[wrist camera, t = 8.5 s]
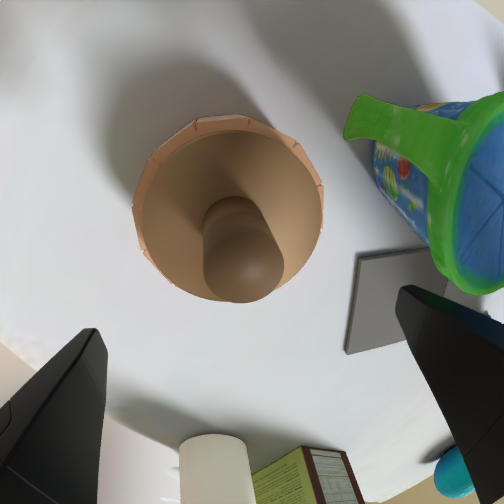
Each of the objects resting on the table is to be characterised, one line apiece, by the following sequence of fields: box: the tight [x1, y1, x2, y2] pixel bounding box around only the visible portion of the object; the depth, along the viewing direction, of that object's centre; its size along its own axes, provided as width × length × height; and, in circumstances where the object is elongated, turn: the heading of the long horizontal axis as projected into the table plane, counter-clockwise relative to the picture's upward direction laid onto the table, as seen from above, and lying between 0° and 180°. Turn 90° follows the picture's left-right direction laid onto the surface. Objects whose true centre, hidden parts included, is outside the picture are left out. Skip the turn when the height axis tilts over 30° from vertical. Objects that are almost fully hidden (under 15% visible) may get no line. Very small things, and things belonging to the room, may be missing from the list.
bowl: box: [132, 114, 324, 287], centre depth 17 cm, size 10×10×4 cm
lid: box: [142, 130, 322, 303], centre depth 13 cm, size 8×8×5 cm
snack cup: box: [343, 92, 504, 295], centre depth 15 cm, size 16×10×10 cm
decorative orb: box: [434, 446, 475, 498], centre depth 49 cm, size 15×15×15 cm
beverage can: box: [179, 434, 256, 504], centre depth 28 cm, size 8×8×12 cm
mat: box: [345, 247, 448, 355], centre depth 26 cm, size 10×10×1 cm
